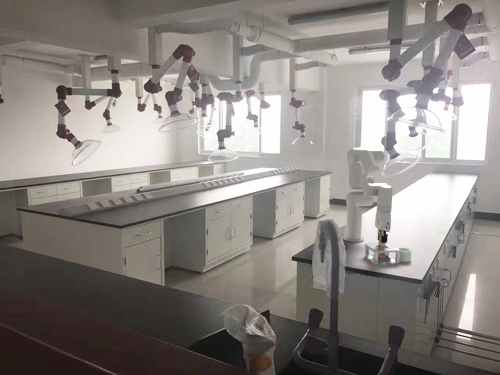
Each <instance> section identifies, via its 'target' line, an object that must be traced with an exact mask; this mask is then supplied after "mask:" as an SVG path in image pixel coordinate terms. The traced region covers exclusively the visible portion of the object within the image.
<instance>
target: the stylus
mask: <svg viewBox="0 0 500 375" xmlns="http://www.w3.org/2000/svg"><path fill="white" fill-rule="evenodd" d="M384 232H386V231H384ZM381 236H382V230H379V240H378V242H377V243H378V248H379V249H382V248H386V243H381ZM379 254H385V253H379Z"/></svg>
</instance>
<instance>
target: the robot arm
mask: <svg viewBox="0 0 500 375" xmlns="http://www.w3.org/2000/svg"><path fill="white" fill-rule="evenodd" d="M385 157H386V156H385V152H384V150H382V149H381V148H375V147H353V148H350V149H348V150H347V152H346V160H347V161H346V162H347V165H348V187H349V188H350V189H351V190H360V191H350V192H348V193H347V194H346V196H345V202H346V203H345V204H346V227H345V230H346V231H345V233H346V234H345V236H343V240H344V241H347V242H352V243H355V242H356V243H360V242H363V241H364V240H365V239H364V237H363V236H362V227H363V226H362V224H363V223H362V222H363V212H362V210H361V209H360V207H371V206H372V205H373V204H374V201H375V198H376V199H377V200H376V213H375V219H374V220H375V222H374V227H375V228H376V229H377V240H378V241H379V230H382V236H381V243H388V236H389V234H390V233H391V228H392V227H391V225H392V215H391V214H392V206H393V205H392V204H393V190H394V188H393V187H392V186H391V185H388V183H383V182H382V183H375V179H374V176H376V175H377V174H378V173H379V172H380V166H379V163H380V164H382V163H384V160H385ZM384 231H386V232H384Z"/></svg>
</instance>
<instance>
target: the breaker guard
mask: <svg viewBox="0 0 500 375" xmlns="http://www.w3.org/2000/svg"><path fill="white" fill-rule="evenodd" d="M378 243H379V242H377V243H364V246H365V248H364V249H365V251H364V258H366V259H367V260H369V262H371V263H372V264H373V265H392V264H393V265H394V264H397V265H398V264H399V265H400V261H399V259H400V252H401V250H399V249H398V248H399V247H396V246H395V245H393V244H392V243H390V242H387V243H386V248H382V249H379V248H378ZM370 251H372V252H373V253H374V254H371V255H370ZM378 253H385V254H386V258H378ZM390 253H395V257H394V258H393V257H392V256H390Z"/></svg>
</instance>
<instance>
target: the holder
mask: <svg viewBox="0 0 500 375" xmlns="http://www.w3.org/2000/svg"><path fill="white" fill-rule="evenodd" d="M397 248H398V249H399V250H401V252H400V259H399V263H410V262H411V261H412V252H413V251H412V249H411V248H408V247H397Z"/></svg>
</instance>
